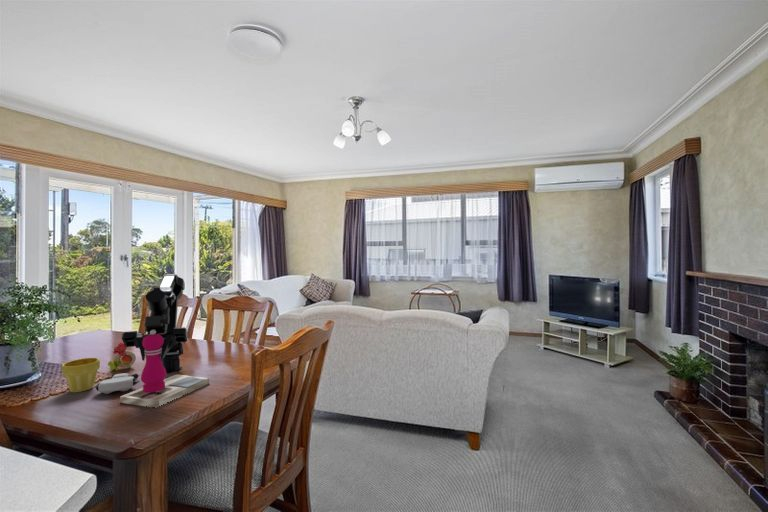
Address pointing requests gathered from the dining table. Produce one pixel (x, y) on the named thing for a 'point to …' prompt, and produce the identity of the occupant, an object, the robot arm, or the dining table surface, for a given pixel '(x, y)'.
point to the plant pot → (81, 373)
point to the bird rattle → (126, 359)
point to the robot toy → (117, 383)
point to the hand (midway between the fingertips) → (152, 359)
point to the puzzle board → (166, 391)
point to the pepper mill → (153, 363)
